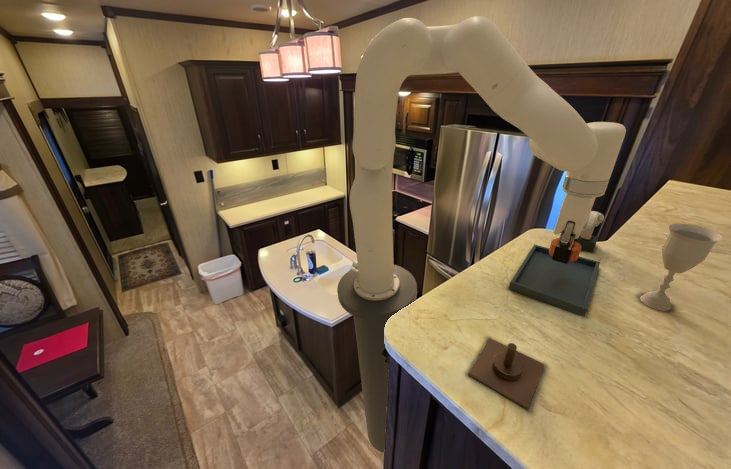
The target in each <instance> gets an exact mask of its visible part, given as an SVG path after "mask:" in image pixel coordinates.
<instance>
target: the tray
mask: <svg viewBox="0 0 731 469" xmlns="http://www.w3.org/2000/svg"><path fill="white" fill-rule="evenodd" d="M549 249H550V247H547V246H542V245H538V244H535V243H534V244H533V246H532V247H531V249H530V250H529V252H528V254H527V255H526V257H525V259H524V260H523V262H522V263H521V265H520V266H519V267H518V269H517V271H516V272H515V274H514V276H513V277H512V278H511V280H510V282H509V287H508V290H511V291H513V292H516V293H519V294H521V295H524V296H528V297H530V298H533V299H535V300H538V301H541V302H544V303H547V304H549V305H552V306H554V307H557V308H560V309H563V310H566V311H568V312H571V313H574V314H576V315H579V316H581V317H586V314H587V312H588V310H589V306H590V302H591V298H592V295H593V291H594V287H595V284H596V280H597V276H598V272H599V268H600V264H601V261H598V260H595V259H592V258H591V259H590V258H588V257H584V256H580V255H579V257H578V259H577V260H576V261H572V262H570V261H569V262H568V263H567V264H565V263H561V262H557V261H554V260H552V256H551V255H550V254H549Z"/></svg>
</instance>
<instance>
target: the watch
mask: <svg viewBox="0 0 731 469" xmlns="http://www.w3.org/2000/svg"><path fill="white" fill-rule="evenodd" d="M604 219H605V216H604V214H603V213H601V212H599V211H596V210H591V212H590V215H589V217H588V219H587V222H586V224H585V226H584V228H583V230H582V232H581V234H580V236H579V237H578V238H577V241H576V242H578V243H579V244H580V245H581V246H582V248H581V251H585V252H589V253H591V254H592V253H594V251H595V248H596V245H597V243H598V239H599V236H596V235H593V232H594V230H595V228H597V227H598V226H599V225H600V224H602V223H603V222H604Z"/></svg>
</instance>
